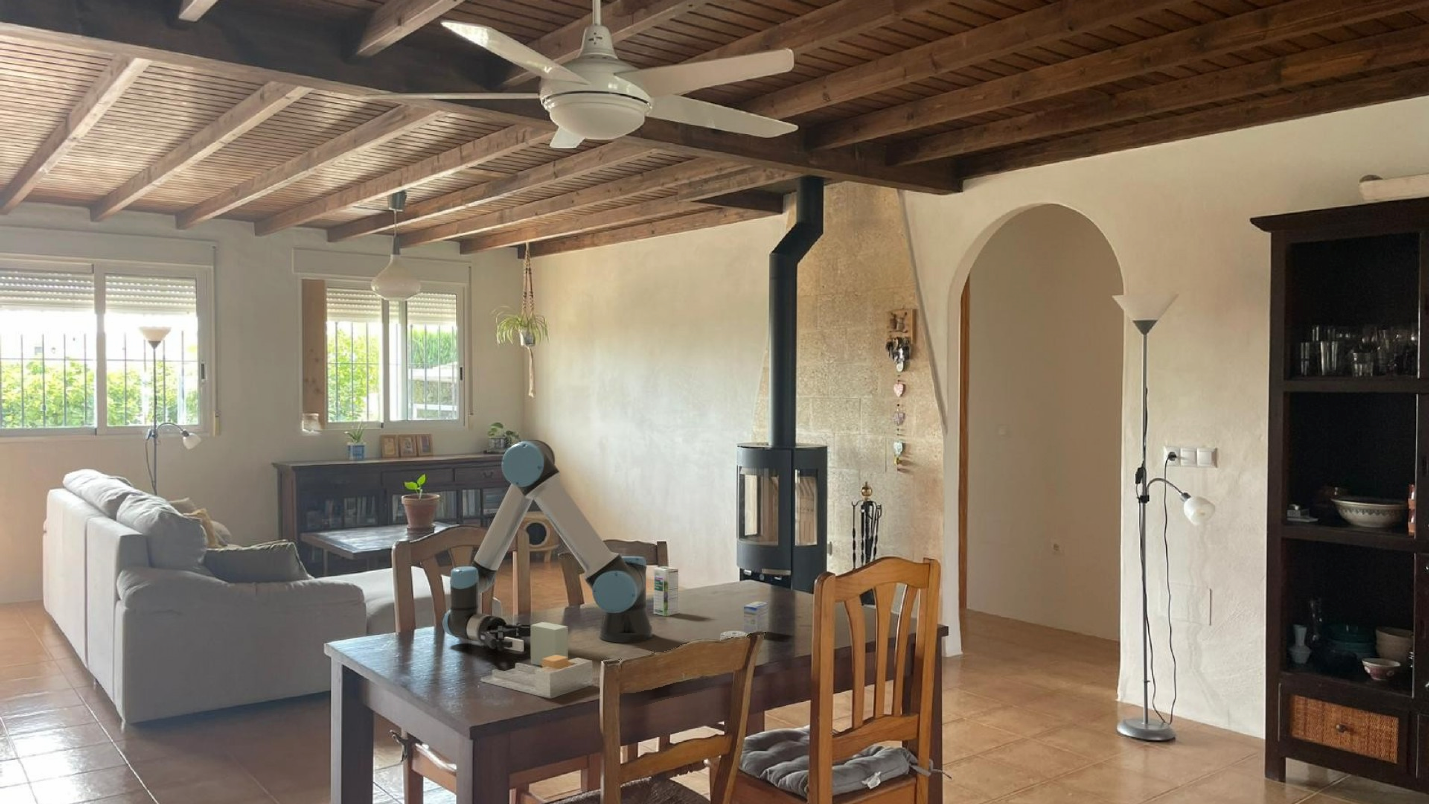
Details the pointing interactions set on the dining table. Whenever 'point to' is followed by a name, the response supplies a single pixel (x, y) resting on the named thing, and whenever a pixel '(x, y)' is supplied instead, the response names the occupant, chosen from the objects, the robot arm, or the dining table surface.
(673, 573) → the syrup box
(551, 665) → the orange rectangular block
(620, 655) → the washcloth
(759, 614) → the medicine box
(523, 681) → the rail plate
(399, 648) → the dining table surface
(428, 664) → the dining table surface
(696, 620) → the dining table surface
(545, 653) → the block
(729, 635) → the mechanical component
